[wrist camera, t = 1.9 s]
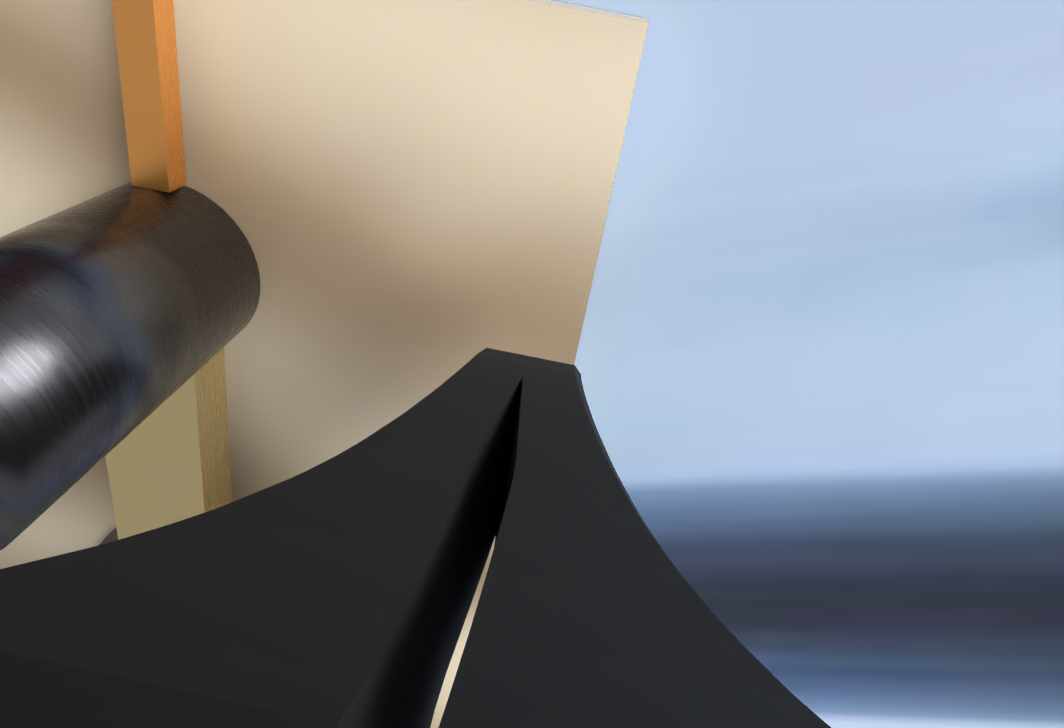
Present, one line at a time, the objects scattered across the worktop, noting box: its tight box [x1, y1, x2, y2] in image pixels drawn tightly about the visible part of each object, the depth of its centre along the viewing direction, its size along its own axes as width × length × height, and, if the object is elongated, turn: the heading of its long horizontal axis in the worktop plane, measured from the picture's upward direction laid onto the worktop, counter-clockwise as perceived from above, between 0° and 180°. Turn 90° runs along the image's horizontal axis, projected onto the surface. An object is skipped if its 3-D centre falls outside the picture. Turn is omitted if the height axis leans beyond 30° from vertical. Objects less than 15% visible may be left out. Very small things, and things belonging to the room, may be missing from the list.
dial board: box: [0, 0, 648, 728], centre depth 16 cm, size 20×21×1 cm
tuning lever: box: [0, 0, 261, 550], centre depth 12 cm, size 16×4×6 cm, turn 171°
